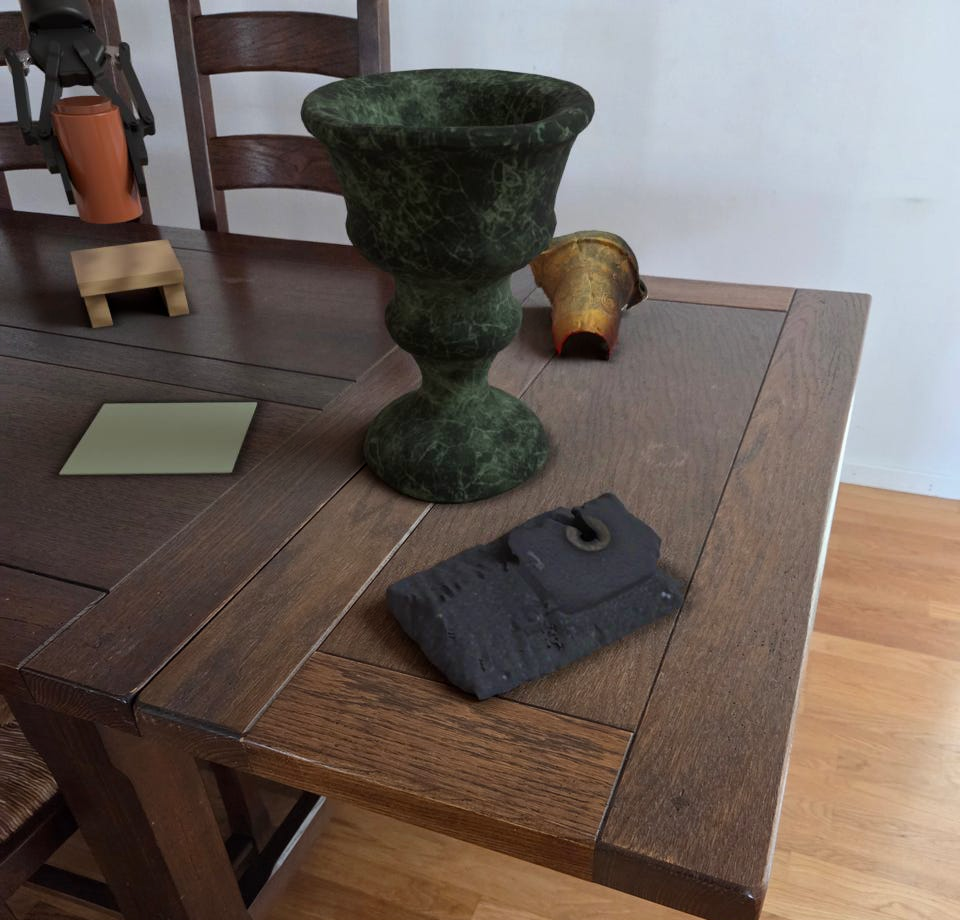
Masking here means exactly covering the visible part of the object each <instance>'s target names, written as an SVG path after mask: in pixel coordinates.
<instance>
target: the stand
mask: <svg viewBox="0 0 960 920" xmlns="http://www.w3.org/2000/svg"><path fill="white" fill-rule="evenodd" d="M70 256H71V262H72V266H73V270H74V275H75V279H76V284H77V287H78V291H79V294H80V297H81V298H83V300H84V304H85V307H86V310H87V314H88V316H89V320H90V323H91V327H92V329H96V328H103V327H110V326H114V323H113V319H112V315H111V312H110V308H109V304H108V301H107V297H106V294H112V293H119V292H126V291H132V290H133V291H134V290H140V289H147V288H148V289H149V288H155V287H157V288H158V291H159V294H160V296H161V298H162V300H163V303H164V305H165V308H166V310H167V313H168V315H169V317H176V316H183V315H188V314H190V310H189V305H188V301H187V296H186V292H185V288H184V283H186V281H185V276H184V271H183V268H182V267H181V264H180V262H179V260H178V258H177V256H176V254H175V252H174V250H173V247H172V245H171V244H170V241H169V239H167V238H166V239H159V240H150V241H144V242H135V243H126V244H120V245H119V244H118V245H112V246H103V247H96V248H87V249H79V250H72V251H70Z"/></svg>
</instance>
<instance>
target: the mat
mask: <svg viewBox="0 0 960 920" xmlns="http://www.w3.org/2000/svg"><path fill="white" fill-rule="evenodd" d="M257 405H258V402H256V401H253V402H252V401H251V402H250V401H247V402H246V401H244V402H242V401H241V402H240V401H239V402H233V401H232V402H154V403H153V402H147V403H146V402H145V403H144V402H143V403H142V402H141V403H139V402H138V403H137V402H136V403H134V402H133V403H132V402H131V403H129V402H128V403H103V405H102V406H101V408H100V409H99V411H98V412H97V414H96V416H95V417H94V418H93V420H92V422H91V424H89V427H87V429H86V432H85V433H84V435H82V436H81V439H80V440H79V442H78V443H77V445H76V446H75V448H74V450H73V451H72V453H71V454H70V456H69V457H68V459H67V461H66V462H65V463H64V465H63V466H62V468H61V470H60V472H58V475H59V476H84V475H85V476H86V475H89V476H91V475H93V476H95V475H97V476H98V475H99V476H101V475H167V474H168V475H178V474H179V475H182V474H184V475H185V474H186V475H187V474H188V475H189V474H193V475H195V474H232V473H233V470H234V467H235V465H236V462H237V459H238V456H239V454H240V451H241V448H242V446H243V443H244V440H245V439H246V435H247V433H248V430H249V426H250V424H251V422H252V419H253V416H254V413H255V411H256V408H257Z"/></svg>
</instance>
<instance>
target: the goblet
mask: <svg viewBox="0 0 960 920" xmlns="http://www.w3.org/2000/svg"><path fill="white" fill-rule="evenodd" d="M595 105H596V104H595V101H594V97H593V96H592V94H591V93H590V92H589V90H587V89H585V88H584V87H583V86H581V85H579V84H577V83H574V82H572V81H569V80H564V79H561V78H557V77H553V76H548V75H543V74H537V73H529V72H522V71H511V70H502V69H491V68H474V67H470V68H469V67H464V68H459V67H455V68H453V67H451V68H450V67H449V68H444V67H443V68H441V67H440V68H438V67H437V68H423V69H422V68H421V69H409V70H407V69H406V70H397V71H396V70H395V71H387V72H381V73H373V74H365V75H364V74H363V75H357V76H352V77H347V78H344V79H339V80H336V81H331V82H328V83H326V84H324V85H321V86H319V87H316V88H315V89H313V90H312V91H310V92H309V93H308V94H307V95H306V96H305V97H304V99H303V100H302V104H301V108H300V120H301V123H302V125H303V126H304V128H305V129H306V131H307V133H309V134H310V135H311V136H312V137H314V138H315V139H317V140H318V141H319V142H320V144H321V145H322V147H323V148H324V149H325V151H326V153H327V156H328V158H329V162H330V164H331V166H332V168H333V172H334V173H335V177H336V179H337V183H338V186H339V188H340V191H341V193H342V194H341V195H342V197H343V199H344V204H345V209H346V218H345V223H344V225H345V231H346V235H347V238H348V240H349V241H350V243H351V245H352V247H353V248H354V249H355V250H356V251H357V252H358V254H359V255H360V256H361V257H363V258H364V260H366V261H367V262H368V263H370V264H371V265H373V266H374V267H376V268H378V269H379V270H381V271H382V272H385V273H388V274H390V275H392V277H393V279H394V284H395V289H394V296H393V297H392V298H391V299H390V300H389V301H388V303H387V304H386V307H385V309H384V324H385V328H386V330H387V333H388V334H389V336H390V337H391V339H392V341H393V342H394V343H395V344H396V345H397V346H398V347H399V348H400V349H401V350H403V351H405V353H408V354H410V355H411V356H412V358H413V360H414V361H415V363H416V364H417V367H418V369H419V370H420V375H421V383H420V387H417V388H415V389H412V390H410V391H408V392H406V393H404V394H402V395H400V396H399V397H397V398H395V399H393V400H392V401H390V402H389V403H388V404H386V405H385V406H384V407H383V408H382V409H381V410H380V412H378V414H377V415H376V416H375V418H373V420H372V422H371V424H370V426H369V428H368V430H367V431H366V432H367V433H366V437H365V440H364V443H363V456H364V461H365V462H366V463H367V465H368V467H369V469H370V470H371V471H372V473H374V474H375V476H377V477H378V478H379V479H380V480H382V481H383V482H385V483H386V484H387V485H389V486H390V487H392V488H393V489H395V490H397V491H398V492H401V493H402V494H404V495H406V496H409V497H411V498H414V499H416V500H419V501H425V502H430V503H434V504H435V503H436V504H464V503H474V502H479V501H481V500H485V499H488V498H491V497H494V496H498V495H501V494H503V493H505V492H507V491H509V490H511V489H512V488H513V489H514V488H515V487H517V486H519V485H520V484H522V483H524V482H526V481H527V480H529V479H531V478H532V477H534V476H535V475H536V474H537V473H538V472H539V470H540V469H541V468H542V467H543V466H544V464H545V462H546V460H547V459H548V455H549V452H550V444H549V439H548V435H547V432H546V430H545V426H544V425H543V424H542V421H541V420H540V418H539V417H538V415H537V414H536V412H534V410H532V408H530V406H528V404H527V403H525V401H522V400H521V399H519V398H518V397H517V396H515V395H512V394H511V393H509V392H507V391H505V390H503V389H502V388H500V387H496V386H494V385H491V384H490V383H489V372H490V369H491V367H492V364H493V362H494V361H495V359H496V357H497V355H498V354H499V353H500V352H502V351H504V350H505V349H506V348H507V347H508V346H510V345H511V344H512V342H513V341H514V340H515V338H516V337H517V336H518V334H519V331H520V329H521V327H522V322H523V317H524V315H523V309H522V306H521V305H520V302H519V300H517V299H516V298H515V296H513V293H512V290H511V277H512V275H513V274H514V273H516V272H518V271H520V270H522V269H524V268H526V267H527V266H528V265H529V263H531V262H532V261H533V260H534V259H536V258H537V257H538V256H539V255H540V254H541V253H542V252H543V251H544V250H545V249H546V247H547V246H548V245H549V243H550V241H551V240H552V238H554V235H555V232H556V228H557V225H558V221H557V215H556V211H555V207H556V200H557V194H558V191H559V189H560V185H561V182H562V179H563V176H564V173H565V170H566V167H567V164H568V160H569V156H570V154H571V151H572V148H573V147H574V145H575V142H576V140H577V138H578V136H579V135H580V134H581V133H583V131H584V130H586V129H587V128H588V126H589V125H590V124H591V122H592V121H593V118H594V116H595V111H596V106H595Z"/></svg>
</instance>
